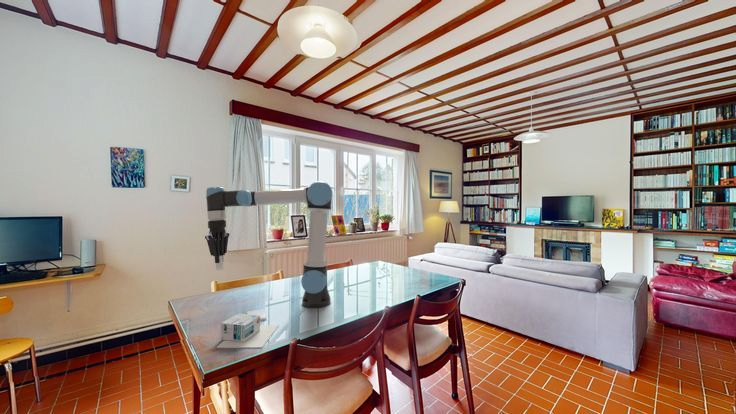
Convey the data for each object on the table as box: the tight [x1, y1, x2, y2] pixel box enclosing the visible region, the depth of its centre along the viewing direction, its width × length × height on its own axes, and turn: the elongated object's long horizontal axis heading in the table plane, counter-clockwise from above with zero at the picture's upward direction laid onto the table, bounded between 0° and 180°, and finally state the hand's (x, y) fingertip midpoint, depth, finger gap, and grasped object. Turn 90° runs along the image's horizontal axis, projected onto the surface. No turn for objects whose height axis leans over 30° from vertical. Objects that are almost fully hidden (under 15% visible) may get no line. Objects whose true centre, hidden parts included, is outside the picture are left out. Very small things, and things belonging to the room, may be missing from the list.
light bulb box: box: [220, 312, 261, 342], centre depth 112 cm, size 11×7×11 cm
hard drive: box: [246, 308, 267, 322], centre depth 132 cm, size 2×8×12 cm
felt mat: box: [216, 324, 280, 349], centre depth 112 cm, size 17×19×1 cm
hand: (219, 269), depth 132 cm, fingers closed
